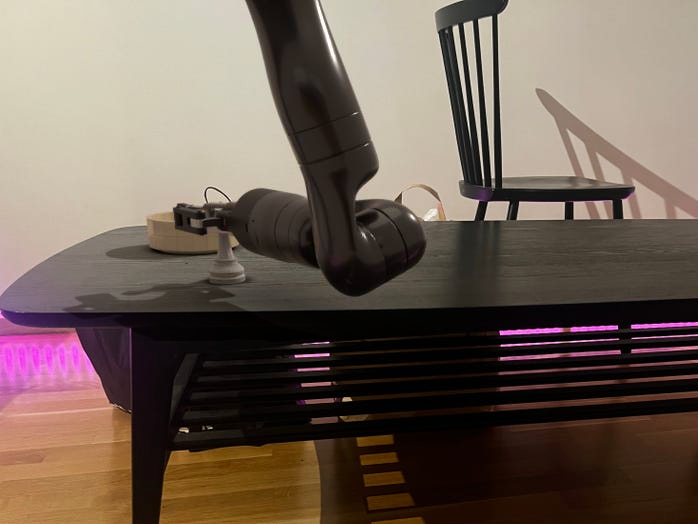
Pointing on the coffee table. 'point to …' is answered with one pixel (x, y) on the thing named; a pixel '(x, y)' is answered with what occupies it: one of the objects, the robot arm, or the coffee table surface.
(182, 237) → the bowl
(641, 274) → the coffee table surface
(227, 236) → the chess piece
